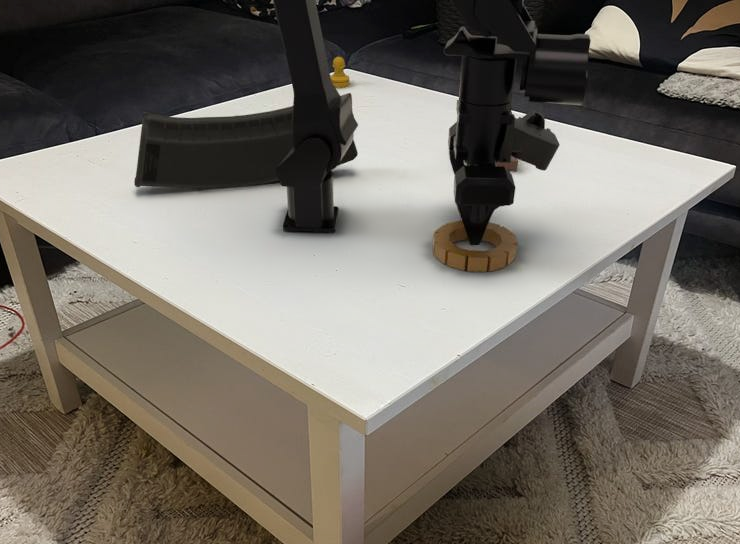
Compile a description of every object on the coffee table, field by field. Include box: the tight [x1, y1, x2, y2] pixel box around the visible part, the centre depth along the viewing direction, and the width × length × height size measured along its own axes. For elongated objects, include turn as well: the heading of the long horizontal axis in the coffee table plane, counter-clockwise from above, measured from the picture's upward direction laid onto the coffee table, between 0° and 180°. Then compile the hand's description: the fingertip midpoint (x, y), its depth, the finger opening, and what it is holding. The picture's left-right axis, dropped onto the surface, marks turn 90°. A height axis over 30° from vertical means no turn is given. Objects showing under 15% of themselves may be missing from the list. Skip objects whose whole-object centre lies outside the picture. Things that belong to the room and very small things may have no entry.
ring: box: [432, 219, 518, 273], centre depth 86 cm, size 10×10×2 cm
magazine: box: [134, 105, 359, 189], centre depth 99 cm, size 17×3×30 cm
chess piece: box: [330, 56, 350, 88], centre depth 139 cm, size 4×4×5 cm
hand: (472, 228), depth 89 cm, fingers open, 8 cm apart
